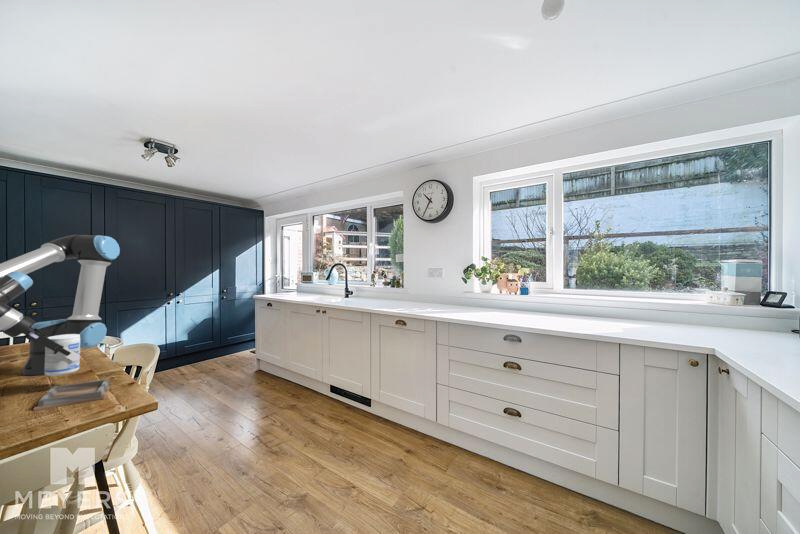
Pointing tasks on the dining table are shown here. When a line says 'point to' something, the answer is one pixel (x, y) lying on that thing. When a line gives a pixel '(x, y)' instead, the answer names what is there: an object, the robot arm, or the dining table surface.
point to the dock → (74, 394)
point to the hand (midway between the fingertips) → (74, 356)
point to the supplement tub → (59, 363)
